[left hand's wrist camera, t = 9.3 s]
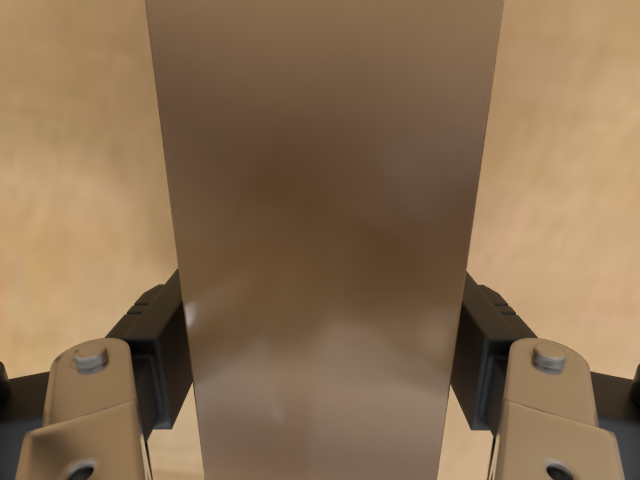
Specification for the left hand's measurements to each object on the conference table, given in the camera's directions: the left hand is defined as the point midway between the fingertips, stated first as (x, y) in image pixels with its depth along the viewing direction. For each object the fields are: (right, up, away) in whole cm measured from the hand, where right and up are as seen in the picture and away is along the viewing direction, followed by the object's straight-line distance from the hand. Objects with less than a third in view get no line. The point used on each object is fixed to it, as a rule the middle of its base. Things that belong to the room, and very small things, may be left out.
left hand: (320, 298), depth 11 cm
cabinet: (0, +7, +4) cm, 8 cm away
